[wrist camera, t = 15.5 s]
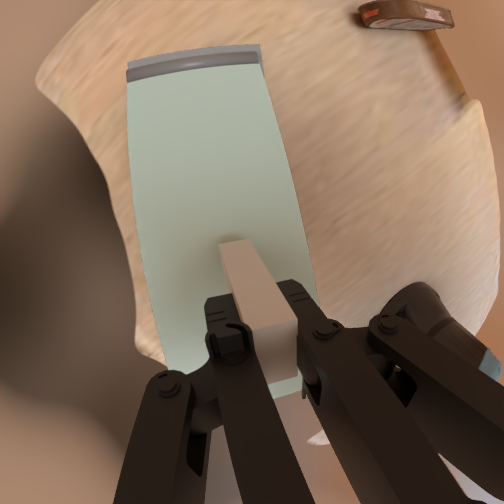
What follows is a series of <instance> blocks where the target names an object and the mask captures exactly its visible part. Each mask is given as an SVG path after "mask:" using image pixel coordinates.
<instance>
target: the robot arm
mask: <svg viewBox="0 0 504 504" xmlns="http://www.w3.org/2000/svg"><path fill="white" fill-rule="evenodd" d="M219 250H220V256H221V261H222V267H223V273H224V278H225V284H226V289H227V293H228V294H224V295H220V296H215V297H210V298H207V300H206V302H205V305H204V312H205V319H206V325H207V333H206V335H205V344H206V347H207V350H208V353H209V359H208V360H207V362H206V363H205V364H204V365H203V366H202V367H200V368H199V369H197V370H195V371H193V372H191V373H189V374H184V373H183V372H181V371H177V370H166V371H163V372H160V373H158V374H156V375H155V376H154V377H152V378H151V379H150V381H149V383H148V384H147V386H146V389H145V393H144V396H143V399H142V402H141V405H140V408H139V411H138V414H137V418H136V421H135V424H134V427H133V431H132V434H131V438H130V441H129V444H128V448H127V451H126V455H125V458H124V462H123V466H122V470H121V474H120V477H119V481H118V485H117V489H116V494H115V497H114V502H113V504H204V500H205V490H206V479H207V469H208V460H209V451H210V450H209V449H210V441H211V432H212V430H213V429H215V428H217V427H219V426H221V425H223V426H224V430H225V435H226V439H227V443H228V448H229V452H230V456H231V460H232V464H233V468H234V472H235V476H236V480H237V484H238V487H239V491H240V494H241V498H242V502H243V504H315V502H314V499H313V497H312V495H311V492H310V490H309V488H308V485H307V483H306V480H305V478H304V476H303V473H302V471H301V468H300V466H299V464H298V461H297V459H296V456H295V454H294V451H293V449H292V446H291V444H290V441H289V439H288V437H287V434H286V431H285V429H284V426H283V424H282V421H281V419H280V416H279V413H278V411H277V408H276V406H275V403H274V401H273V398H272V395H271V392H270V390H269V387H268V384H272V383H275V382H279V381H283V380H286V379H290V378H293V377H296V376H298V368H299V370H300V372H301V374H302V398H303V399H305V398H306V394H307V396H308V399H309V401H310V403H311V405H312V406H313V409H314V411H315V413H316V415H317V417H318V419H319V421H320V423H321V425H322V427H323V429H324V431H325V433H326V435H327V437H328V439H329V441H330V443H331V445H332V448H333V449H334V451H335V454H336V455H337V457H338V460H339V461H340V464H341V466H342V468H343V470H344V471H345V474H346V476H347V478H348V480H349V481H350V484H351V485H352V488H353V489H354V491H355V493H356V495H357V497H358V499H359V501H360V503H361V504H487V503H485V502H483V501H477V500H472V499H470V498H468V496H467V494H466V493H465V491H464V490H463V488H462V487H461V485H460V484H459V483H458V481H457V479H456V478H455V476H454V475H453V473H452V472H451V470H450V469H449V467H448V466H447V464H446V463H445V461H444V460H443V457H444V458H445V459H446V460H448V461H449V462H450V463H451V464H452V465H454V466H455V467H456V468H457V469H459V470H460V471H461V472H462V473H464V474H465V475H466V476H467V477H469V478H470V479H471V480H472V481H474V482H475V483H476V484H477V485H479V486H480V487H481V488H482V489H484V490H485V491H486V492H488V493H489V494H491V495H492V496H494V497H495V498H497V499H499V500H502V501H504V386H502V385H501V384H500V383H498V380H499V378H500V376H501V373H502V365H501V363H500V361H499V360H498V359H497V358H496V357H495V356H494V355H493V354H492V352H491V351H490V349H489V348H487V347H486V346H485V345H484V344H483V343H481V342H480V341H479V340H478V339H477V338H476V337H475V336H474V335H472V334H471V333H470V332H469V331H468V330H467V329H465V328H464V327H463V326H462V325H461V324H460V323H458V322H457V321H456V320H455V319H454V318H453V317H451V315H450V314H449V312H448V311H447V309H446V308H445V306H444V305H443V303H442V302H441V300H440V297H439V295H438V293H437V292H436V291H435V290H434V289H433V288H431V287H430V286H429V285H427V284H426V283H415V284H412V285H410V286H408V287H406V288H405V289H403V290H402V291H400V292H399V293H398V294H397V295H396V296H395V297H393V298H392V300H391V301H390V302H389V303H388V304H387V305H386V306H385V308H384V309H383V311H382V312H381V314H378V315H376V316H374V317H373V318H372V319H371V320H370V322H369V326H368V327H361V328H345V327H344V326H343V325H342V324H341V323H339V322H338V321H336V320H333V319H327V317H326V316H325V315H324V313H323V312H322V311H321V309H320V308H319V307H318V305H317V304H316V303H315V301H314V300H313V299H312V298H311V296H310V295H309V293H308V292H307V291H306V289H305V288H304V287H303V285H302V284H301V283H299V282H297V281H295V280H293V279H289V280H285V281H280V282H276V283H275V281H274V279H273V278H272V276H271V274H270V273H269V271H268V269H267V268H266V266H265V265H264V263H263V261H262V260H261V258H260V256H259V255H258V253H257V251H256V250H255V248H254V247H253V245H252V243H251V242H250V240H249V239H243V240H238V241H233V242H228V243H223V244H219ZM395 365H397V366H398V367H399V368H397V367H396V366H395ZM400 368H401V369H400Z"/></svg>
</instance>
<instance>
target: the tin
mask: <svg viewBox="0 0 504 504" xmlns="http://www.w3.org/2000/svg"><path fill="white" fill-rule="evenodd" d="M358 11H359V13H360V15H361V17H362V20H363V22H364V24H365V26H366V27H369V28H378V29H397V30H417V31H424V30H435V29H441V28H453V27H454V26H455V25H454V22H453V19H452V16H451V11H450V10H449V9H447V8H444V7H441V6H437V5H433V4H430V3H426V2H422V1H418V0H376V1H372V2H369V3H366V4H363V5H361V6H360V7H359V8H358Z"/></svg>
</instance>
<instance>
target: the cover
mask: <svg viewBox="0 0 504 504" xmlns="http://www.w3.org/2000/svg"><path fill="white" fill-rule="evenodd" d="M258 63H259V59H258V54H257V52H256V51H246V52H229V53H217V54H208V55H199V56H192V57H185V58H179V59H173V60H168V61H163V62H158V63H153V64H148V65H144V66H140V67H136V68H132V69H128V70H127V71H126V77H127V133H128V152H129V166H130V178H131V188H132V197H133V206H134V214H135V221H136V228H137V235H138V241H139V247H140V253H141V258H142V264H143V269H144V274H145V279H146V284H147V289H148V293H149V298H150V302H151V307H152V311H153V315H154V319H155V323H156V327H157V331H158V335H159V338H160V342H161V346H162V349H163V353H164V356H165V360H166V363H167V366H168V370H177V371H181V372H183V373H184V374H189V373H191V372H193V371H195V370H197V369H199V368H200V367H202V366H203V365H204V364H205V363H206V362H207V360H208V359H209V353H208V350H207V347H206V344H205V335H206V333H207V325H206V319H205V312H204V305H205V302H206V300H207V298H210V297H215V296H220V295H224V294H228V293H227V289H226V284H225V278H224V273H223V267H222V261H221V256H220V250H219V244H223V243H228V242H233V241H238V240H243V239H249V240H250V242H251V243H252V245H253V247H254V248H255V250H256V251H257V253H258V255H259V256H260V258H261V260H262V261H263V263H264V265H265V266H266V268H267V269H268V271H269V273H270V274H271V276H272V278H273V279H274V281H275V283H276V282H280V281H285V280H289V279H293V280H295V281H297V282H299V283H301V284H302V285H303V287H304V288H305V289H306V291H307V292H308V293H309V295H310V296H311V298H312V299H313V300H314V301H315V303H316V304H317V305H318V307H319V302H318V296H317V290H316V285H315V280H314V275H313V269H312V264H311V259H310V254H309V250H308V245H307V240H306V235H305V231H304V226H303V222H302V217H301V213H300V209H299V204H298V200H297V196H296V192H295V188H294V183H293V179H292V175H291V171H290V168H289V164H288V160H287V156H286V152H285V148H284V145H283V141H282V137H281V134H280V130H279V127H278V123H277V120H276V116H275V113H274V109H273V106H272V103H271V99H270V96H269V93H268V89H267V86H266V83H265V80H264V77H263V73H262V70H261V67H260V64H258ZM319 308H320V307H319ZM268 387H269V390H270V392H271V395H272V398H273V399H274V398H278V397H281V396H284V395H288V394H291V393H295V392H298V391H301V390H302V374H301V372H300V370H299V368H298V376H296V377H293V378H290V379H286V380H283V381H279V382H275V383H272V384H268Z"/></svg>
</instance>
